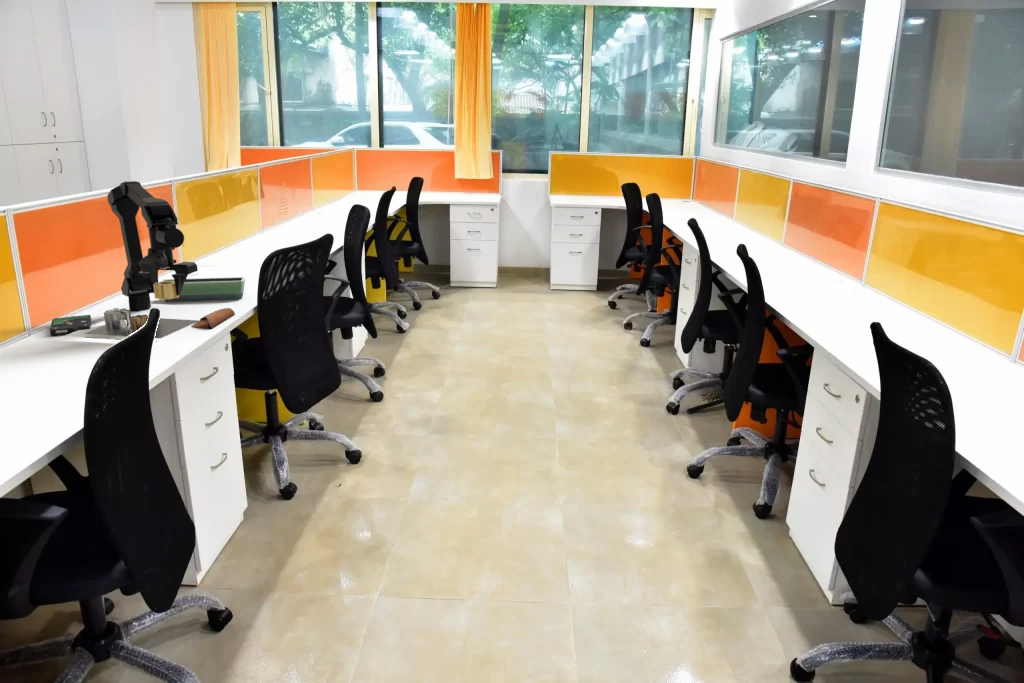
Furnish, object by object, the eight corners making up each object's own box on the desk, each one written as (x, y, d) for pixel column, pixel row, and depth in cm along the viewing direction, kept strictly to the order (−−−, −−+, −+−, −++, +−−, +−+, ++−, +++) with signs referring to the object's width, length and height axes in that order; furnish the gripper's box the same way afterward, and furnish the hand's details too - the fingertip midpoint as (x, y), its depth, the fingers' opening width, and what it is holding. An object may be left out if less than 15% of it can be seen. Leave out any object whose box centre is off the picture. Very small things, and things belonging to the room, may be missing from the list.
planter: (246, 296, 263) (245, 276, 261) (244, 300, 257) (242, 280, 255) (165, 299, 257) (163, 279, 255) (160, 303, 251) (158, 283, 249)
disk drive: (91, 334, 214) (91, 322, 227) (90, 325, 214) (90, 313, 226) (50, 339, 210) (53, 326, 222) (49, 329, 209) (51, 317, 221)
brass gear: (163, 294, 224) (162, 280, 223) (184, 295, 223) (182, 281, 222) (150, 299, 218) (148, 284, 216) (171, 300, 217) (169, 285, 215)
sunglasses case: (209, 317, 233) (218, 300, 231) (229, 328, 234) (238, 311, 232) (184, 332, 216) (193, 314, 214) (205, 344, 217) (214, 326, 215)
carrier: (129, 320, 228) (127, 300, 226) (200, 324, 225) (198, 304, 223) (84, 337, 209) (81, 316, 207) (161, 342, 206) (158, 320, 204)
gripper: (114, 246, 210) (121, 299, 214) (173, 249, 207) (180, 302, 211) (138, 241, 220) (145, 291, 225) (195, 243, 218) (201, 294, 222)
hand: (167, 294), depth 220 cm, fingers closed on brass gear, 7 cm apart
